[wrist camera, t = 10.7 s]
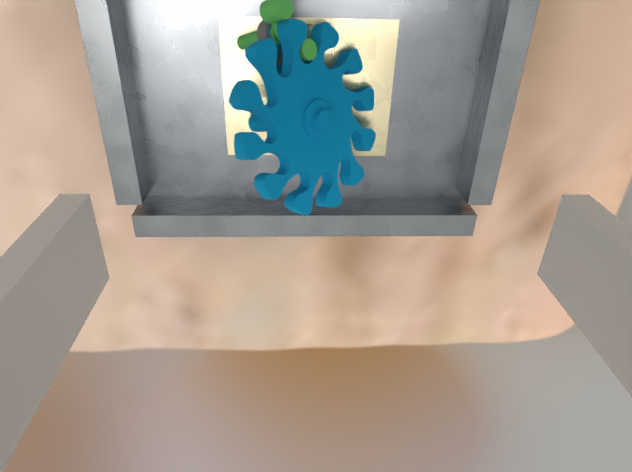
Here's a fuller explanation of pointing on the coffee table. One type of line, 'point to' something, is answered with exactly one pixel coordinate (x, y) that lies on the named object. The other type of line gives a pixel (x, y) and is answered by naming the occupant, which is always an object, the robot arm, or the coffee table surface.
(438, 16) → the gray metal tray
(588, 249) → the robot arm
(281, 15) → the gear
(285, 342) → the coffee table surface
